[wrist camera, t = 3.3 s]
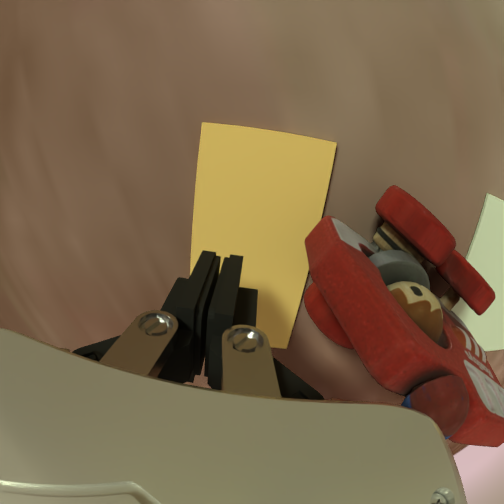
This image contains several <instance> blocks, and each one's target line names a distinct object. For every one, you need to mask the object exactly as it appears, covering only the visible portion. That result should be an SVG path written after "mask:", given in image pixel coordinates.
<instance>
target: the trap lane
mask: <svg viewBox="0 0 504 504" xmlns="http://www.w3.org/2000/svg"><path fill="white" fill-rule="evenodd" d="M336 145H337V143H335V142H330V141H326V140H321V139H316V138H312V137H306V136H301V135H296V134H290V133H284V132H278V131H272V130H265V129H259V128H251V127H243V126H235V125H226V124H215V123H203V122H202V128H201V137H200V145H199V155H198V165H197V175H196V187H195V199H194V212H193V227H192V245H191V266H190V275H191V273H192V271H193V269H194V267H195V265H196V263H197V261H198V259H199V257H200V255H201V252H202V251H203V250H205V251H212V252H216V256H221V261H220V270H221V267H222V264H223V260H224V257H230V254H232V255H239V256H243V264H242V271H241V278H240V285H239V287H244V288H251V289H258V299H257V317H256V328H258V329H260V330H261V331H263V332H264V333H265V334H266V335H267V338H268V340H269V344H270V347H274V348H283V349H286V348H287V345H288V342H289V339H290V335H291V332H292V329H293V325H294V322H295V318H296V315H297V311H298V308H299V304H300V301H301V297H302V293H303V290H304V286H305V282H306V278H307V275H308V271H309V264H308V258H307V253H306V248H305V243H304V242H305V238H306V237H307V236H308V234H309V233H310V232H311V231H312V230H313V228H314V227H315V226H316V225H317V224H318V222H319V221H320V220H321V217H322V213H323V209H324V204H325V200H326V195H327V190H328V185H329V181H330V176H331V171H332V166H333V161H334V155H335V150H336ZM465 259H466V260H467V261H468V262H469V263H470V264H471V265H472V266H473V267H474V268H475V269H476V270H477V271H478V273H479V274H480V275H481V276H482V277H483V278H484V279H485V280H486V282H487V283H488V284H489V285H490V287H491V288H492V289H493V291H494V292H495V300H494V301H493V303H492V304H491V305H490V306H489V308H488V309H487V310H486V311H485V312H484V313H483V314H482V315H480V316H478V315H477V314H476V313H475V312H474V311H473V310H472V309H471V308H470V307H469V306H468V305H467V304H466V302H465V301H464V300H463V299H462V298H461V297H460V300H459V301H458V303H457V304H456V305H455V306H454V307H453V308H452V309H451V310H452V311H453V312H454V313H455V314H456V315H457V316H458V317H459V318H460V319H461V320H462V321H463V322H464V324H465V325H466V327H467V328H468V330H469V331H470V333H471V334H472V336H473V337H474V339H475V341H476V342H477V343H478V344H479V345H480V346H481V347H482V348H483V350H484V351H493V350H502V349H504V201H503V200H501V199H499V198H497V197H495V196H492V195H490V194H488V193H487V194H486V198H485V202H484V205H483V209H482V212H481V215H480V219H479V222H478V225H477V228H476V231H475V234H474V237H473V240H472V243H471V245H470V248H469V251H468V253H467V256H466V258H465ZM219 273H220V271H219Z"/></svg>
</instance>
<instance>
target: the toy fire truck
mask: <svg viewBox="0 0 504 504" xmlns="http://www.w3.org/2000/svg"><path fill="white" fill-rule="evenodd" d="M375 209H376V212H377V214H378V215H379V216H380V217H382V218H383V219H384V221H385V222H384V224H383V225H382V226H381V227H378V228H377V232H376V234H375V235H374V237H373V242H372V243H369V242H368V241H367V240H365V239H364V238H363V237H361V236H360V235H359V234H357V233H356V232H354V231H353V230H352V229H351V228H349V227H348V226H346V225H345V224H344V223H342V222H341V221H339V220H338V219H336V218H334V217H332V216H325V217H324V218H322V219H321V220H320V221H319V222H318V224H317V225H316V226H315V227H314V228H313V230H312V231H311V232H310V233H309V234H308V236H307V237H306V238H305V242H304V243H305V248H306V253H307V258H308V264H309V271H310V274H311V277H312V280H313V281H314V282H313V283H312V284H311V285H310V286H309V287H308V289H307V290H306V292H305V295H304V303H305V307H306V309H307V312H308V314H309V316H310V317H311V319H312V320H313V321H314V323H315V324H316V326H317V327H318V328H319V329H320V330H321V331H322V332H323V333H324V334H325V335H326V336H327V337H328V338H329V339H331V340H332V341H333V342H335V343H336V344H338V345H341V346H343V347H345V348H349V349H355V350H356V352H357V354H358V355H359V357H360V359H361V361H362V362H363V364H364V366H365V367H366V369H367V370H368V372H369V373H370V374H371V376H372V377H373V378H374V379H375V380H376V381H377V382H378V384H380V385H381V386H382V387H383V388H385V389H387V390H389V391H391V392H394V393H397V394H399V395H402V396H405V397H406V398H405V399H404V401H403V403H402V404H401V406H404V407H408V408H411V409H414V410H417V411H420V412H422V413H424V414H426V415H427V416H429V417H430V418H432V419H433V421H434V422H435V423H436V424H437V425H438V427H439V428H440V430H441V431H442V433H443V435H444V437H445V439H449V440H451V441H452V442H455V443H460V444H468V445H477V446H489V447H498V446H500V445H501V444H502V443H504V390H503V388H502V386H501V385H500V383H499V381H498V379H497V377H496V375H495V373H494V372H493V370H492V368H491V366H490V364H489V363H488V361H487V356H486V353H485V351H484V350H483V348H482V347H481V346H480V345H479V344H478V343H477V342H476V341H475V339H474V337H473V336H472V334H471V333H470V331H469V330H468V328H467V327H466V325H465V324H464V322H463V321H462V320H461V319H460V318H459V317H458V316H457V315H456V314H455V313H454V312H453V311H452V310H451V309H452V308H453V307H454V306H455V305H456V304H457V303H458V301H459V300H460V297H461V298H462V299H463V300H464V301H465V302H466V304H467V305H468V306H469V307H470V308H471V309H472V310H473V311H474V312H475V313H476V314H477V315H478V316H480V315H482V314H483V313H484V312H485V311H486V310H487V309H488V308H489V306H490V305H491V304H492V303H493V301H494V300H495V292H494V291H493V289H492V288H491V287H490V285H489V284H488V283H487V282H486V280H485V279H484V278H483V277H482V276H481V275H480V274H479V273H478V271H477V270H476V269H475V268H474V267H473V266H472V265H471V264H470V263H469V262H468V261H467V260H466V259H465V258H464V257H463V256H462V255H461V254H459V253H458V252H457V251H456V250H454V249H455V246H456V241H455V239H454V237H453V236H452V234H451V233H450V232H449V231H448V230H447V229H446V227H445V226H444V225H443V224H442V223H441V222H440V221H439V220H438V219H437V218H436V217H435V216H434V215H433V214H432V213H431V212H430V211H429V210H428V209H426V208H425V207H424V206H423V205H422V204H421V203H420V202H418V201H417V200H416V199H415V198H414V197H412V196H411V195H410V194H408V193H407V192H405V191H404V190H402V189H401V188H399V187H398V186H396V185H393V186H391V187H389V188H388V189H387V190H386V192H385V193H384V195H383V196H382V197H381V199H380V200H379V201H378V202H377V204H376V207H375ZM423 260H427V261H429V262H430V263H432V264H433V265H434V266H435V267H436V270H437V272H438V273H439V274H440V275H441V276H442V278H443V279H444V280H445V281H446V282H447V283H448V284H449V285H451V287H450V288H449V289H448V290H447V291H446V293H445V294H444V295H443V296H442V297H441V298H439V297H438V296H437V295H435V294H432V293H431V291H430V282H429V278H428V275H427V273H426V271H425V270H424V268H423V267H422V266H421V263H422V261H423Z"/></svg>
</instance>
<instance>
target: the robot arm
mask: <svg viewBox="0 0 504 504" xmlns="http://www.w3.org/2000/svg"><path fill="white" fill-rule="evenodd" d="M220 261H221V256H216V252H212V251H205V250H203V251H202V252H201V255H200V257H199V259H198V261H197V263H196V265H195V267H194V269H193V271H192V273H191V275H190V277H189V279H186V278H180V277H179V278H178V279H177V280H176V282H175V284H174V286H173V287H172V289H171V291H170V293H169V295H168V297H167V299H166V301H165V303H164V304H163V306H162V308H161V310H151V311H146V312H144V313H142V314H140V315H139V316H138V317H136V318H135V320H134V321H133V322H132V323H131V324H130V325H129V327H128V328H127V329H126V330H125V331H124V332H123V334H122V335H120V336H117V337H114V338H111V339H108V340H104V341H101V342H98V343H95V344H91V345H88V346H85V347H81V348H79V349H77V350H74V351H73V352H70V350H69V349H64V348H58V347H55V346H53V345H50V344H48V343H45V342H42V341H40V340H37V339H34V338H32V337H29V336H27V335H24V334H22V333H19V332H15V331H12V330H9V329H4V328H0V504H467V501H466V496H465V492H464V488H463V485H462V481H461V478H460V475H459V472H458V469H457V466H456V463H455V460H454V457H453V455H452V452H451V450H450V447H449V445H448V443H447V441H446V439H445V437H444V435H443V433H442V431H441V430H440V428H439V427H438V425H437V424H436V423H435V422H434V421H433V419H432V418H430V417H429V416H427V415H426V414H424V413H422V412H420V411H417V410H414V409H411V408H408V407H404V406H400V405H395V404H388V403H380V402H368V401H347V400H342V399H337V398H331V400H325V399H324V398H323V396H322V395H321V394H320V393H319V392H318V391H316V390H315V389H314V388H312V387H311V386H310V385H308V384H307V383H306V382H304V381H303V380H302V379H300V378H299V377H298V376H296V375H295V374H294V373H293V372H291V371H290V370H289V369H288V368H286V367H285V366H284V365H282V364H281V363H280V362H279V361H277V360H276V359H275V358H274V357H272V353H271V348H270V344H269V340H268V338H267V335H266V334H265V333H264V332H263V331H261V330H260V329H258V328H256V317H257V299H258V289H251V288H244V287H239V285H240V278H241V271H242V264H243V256H239V255H232V254H230V257H224V260H223V264H222V267H221V270H220ZM219 271H220V273H219ZM204 358H205V373H204V376H206V377H208V385H209V386H210V387H211V388H212V389H209V388H204V387H198V386H193V385H188V384H183V383H185V382H192V383H193V381H194V377H195V375H200V374H201V370H202V366H203V362H204Z"/></svg>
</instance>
